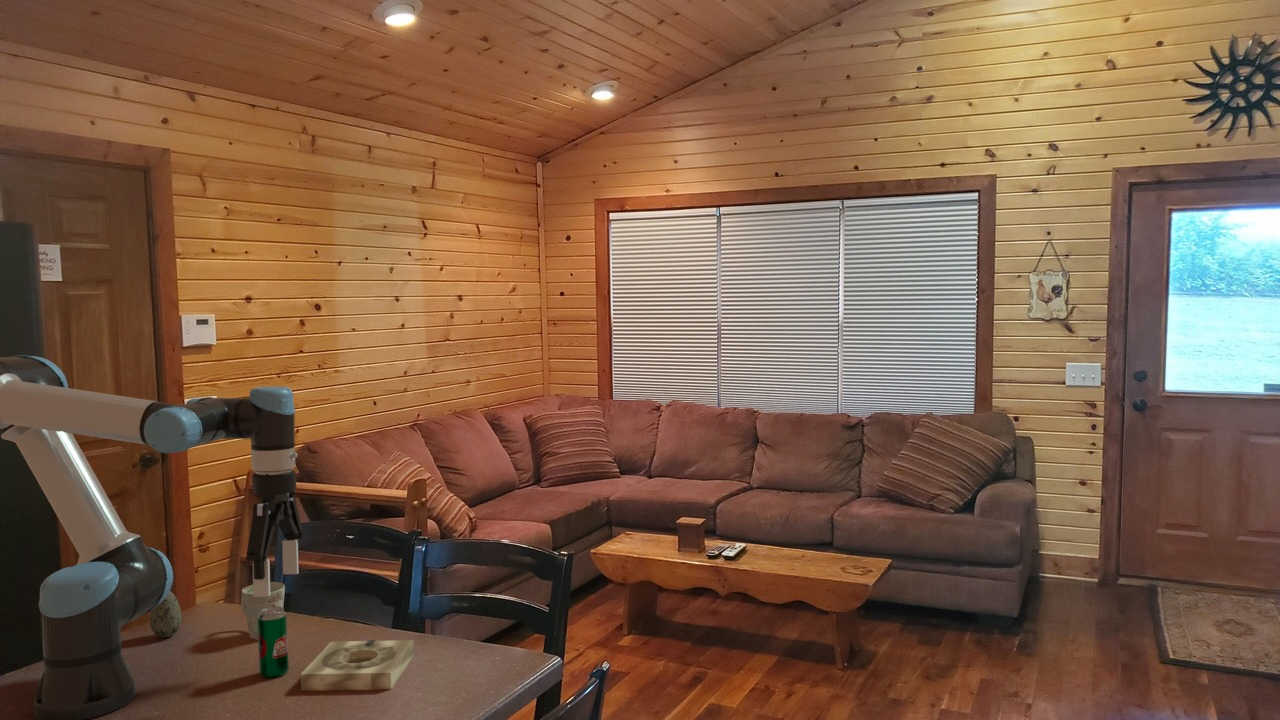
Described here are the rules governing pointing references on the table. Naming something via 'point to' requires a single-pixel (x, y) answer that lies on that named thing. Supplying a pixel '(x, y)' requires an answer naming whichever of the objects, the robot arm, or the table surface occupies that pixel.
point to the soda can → (272, 642)
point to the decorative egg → (166, 617)
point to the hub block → (358, 665)
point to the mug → (260, 604)
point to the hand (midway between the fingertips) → (276, 584)
